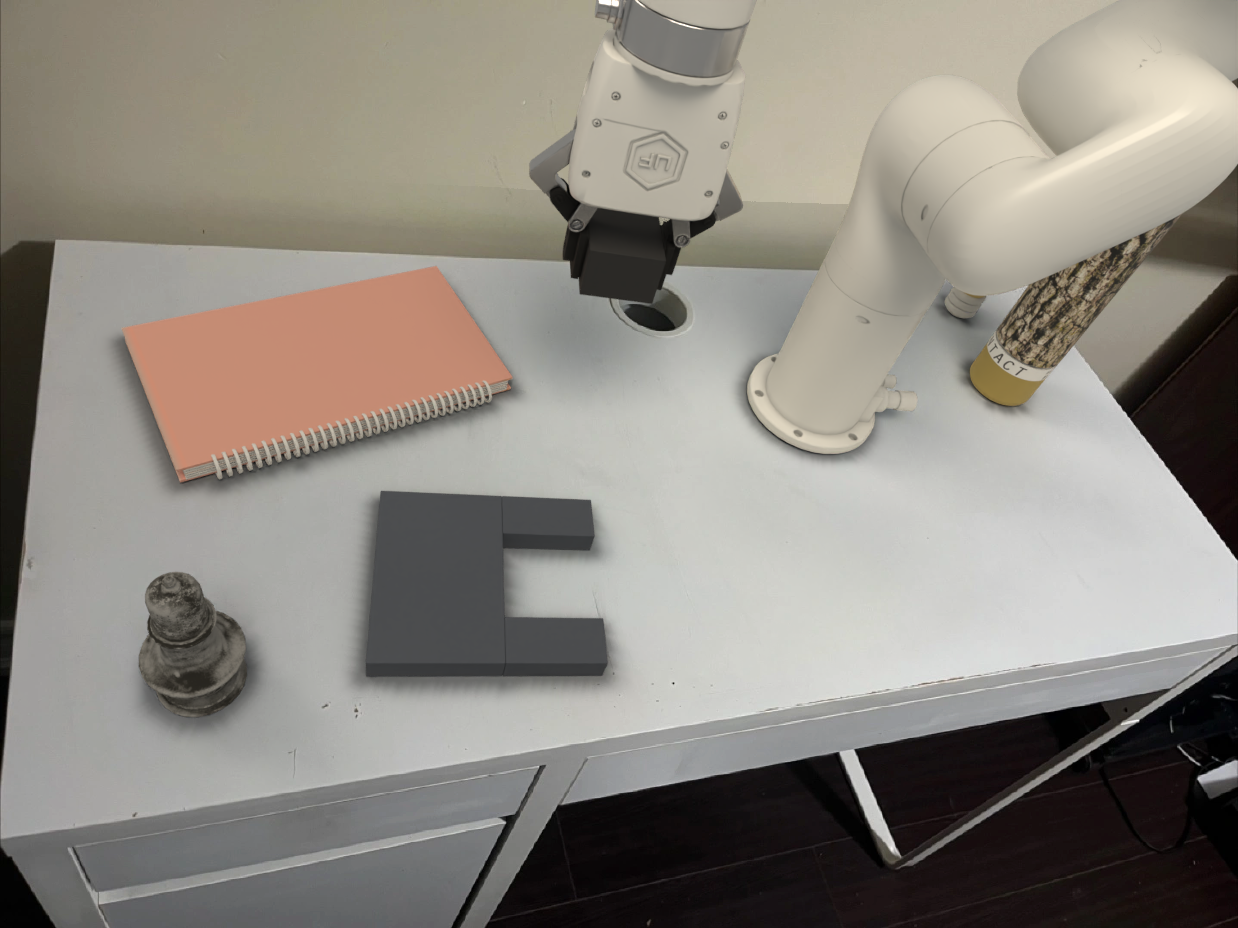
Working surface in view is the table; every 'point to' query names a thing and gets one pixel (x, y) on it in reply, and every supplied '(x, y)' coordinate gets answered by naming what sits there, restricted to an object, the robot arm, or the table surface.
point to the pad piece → (623, 257)
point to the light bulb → (963, 303)
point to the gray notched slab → (472, 588)
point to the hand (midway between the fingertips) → (615, 270)
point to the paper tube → (1055, 319)
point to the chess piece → (190, 648)
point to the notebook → (310, 369)
